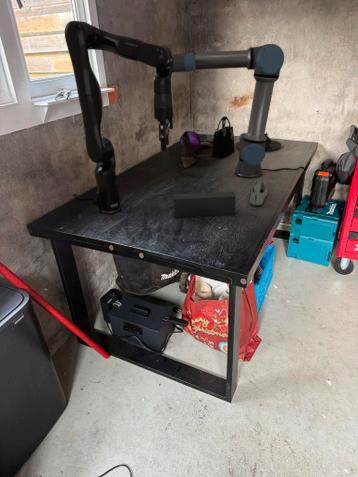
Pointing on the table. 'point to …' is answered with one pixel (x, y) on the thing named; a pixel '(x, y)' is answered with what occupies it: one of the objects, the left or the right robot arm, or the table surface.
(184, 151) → the boot
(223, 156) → the handbag
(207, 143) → the pair of gloves
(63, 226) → the table surface
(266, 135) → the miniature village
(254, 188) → the ballet flat
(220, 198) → the bar
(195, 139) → the decorative orb
